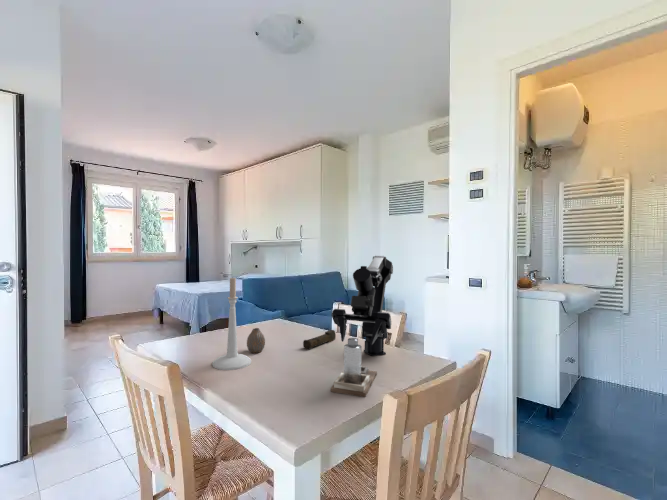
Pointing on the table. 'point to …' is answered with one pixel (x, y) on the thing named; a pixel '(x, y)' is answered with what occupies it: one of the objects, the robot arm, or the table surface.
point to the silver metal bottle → (352, 362)
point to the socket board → (355, 389)
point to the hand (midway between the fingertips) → (356, 342)
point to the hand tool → (319, 339)
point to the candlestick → (232, 339)
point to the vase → (255, 341)
